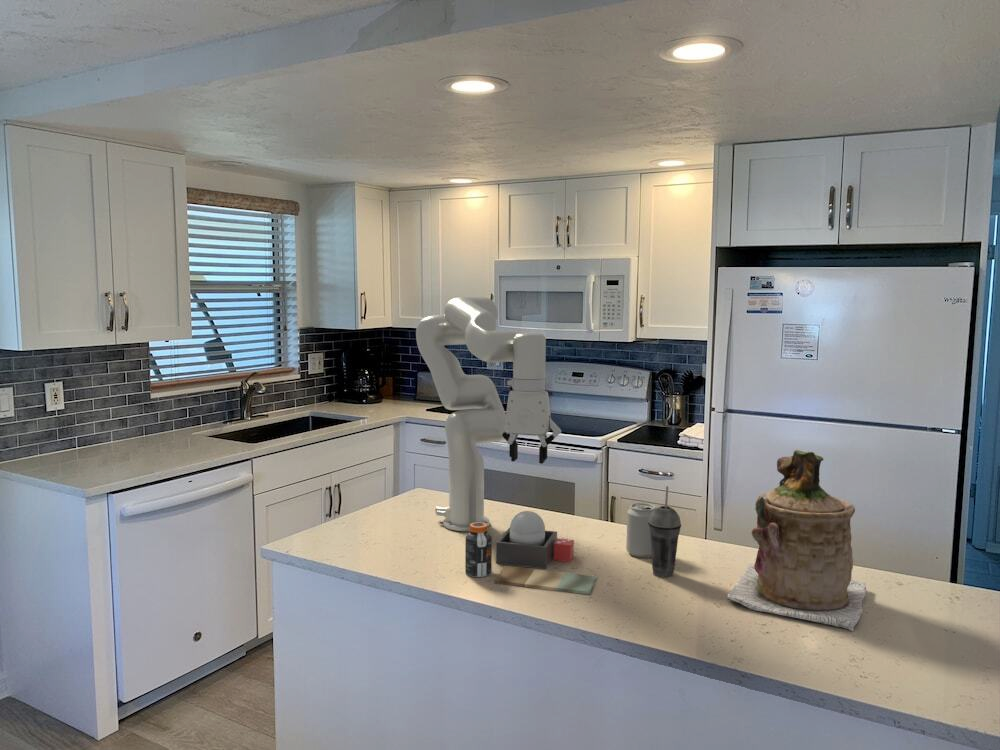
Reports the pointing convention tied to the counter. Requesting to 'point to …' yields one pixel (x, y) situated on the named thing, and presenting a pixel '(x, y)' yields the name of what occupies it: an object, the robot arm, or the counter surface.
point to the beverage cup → (664, 539)
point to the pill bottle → (478, 550)
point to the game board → (546, 579)
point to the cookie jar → (802, 551)
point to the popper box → (534, 551)
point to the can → (639, 529)
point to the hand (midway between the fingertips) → (528, 460)
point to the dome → (527, 529)
